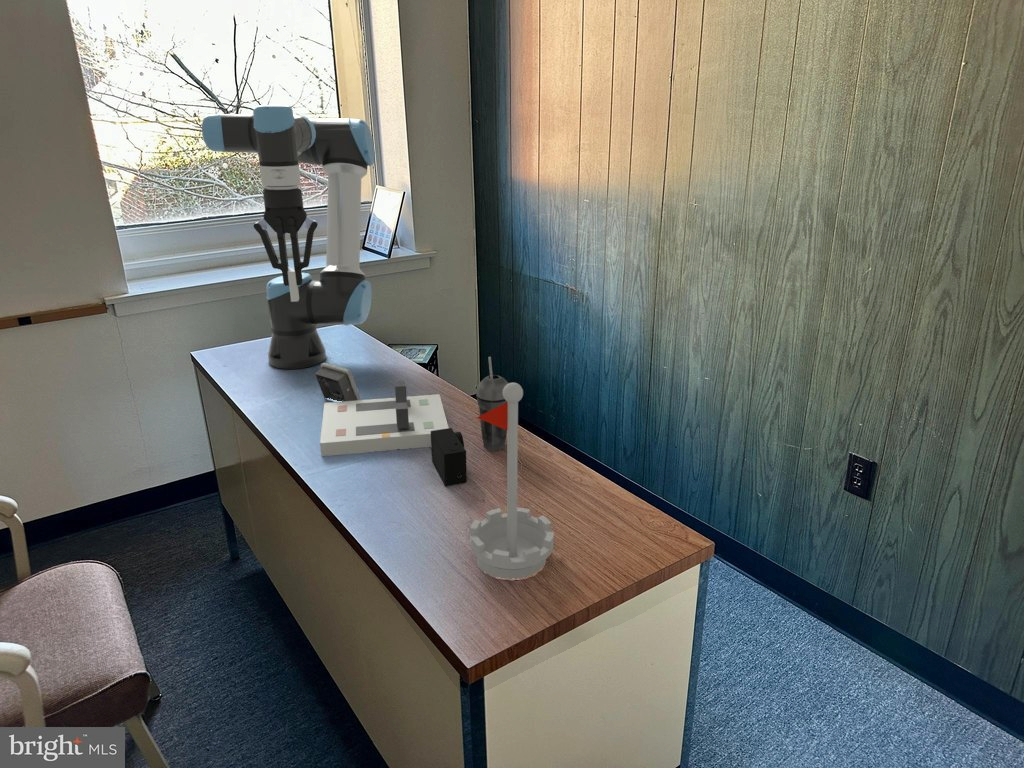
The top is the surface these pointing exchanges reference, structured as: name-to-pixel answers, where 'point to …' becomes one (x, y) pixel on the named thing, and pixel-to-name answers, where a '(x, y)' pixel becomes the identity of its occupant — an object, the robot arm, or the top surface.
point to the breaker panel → (379, 425)
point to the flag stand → (510, 512)
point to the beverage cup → (488, 400)
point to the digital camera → (449, 456)
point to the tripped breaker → (402, 415)
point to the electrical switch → (337, 383)
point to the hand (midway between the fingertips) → (295, 299)
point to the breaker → (400, 391)
